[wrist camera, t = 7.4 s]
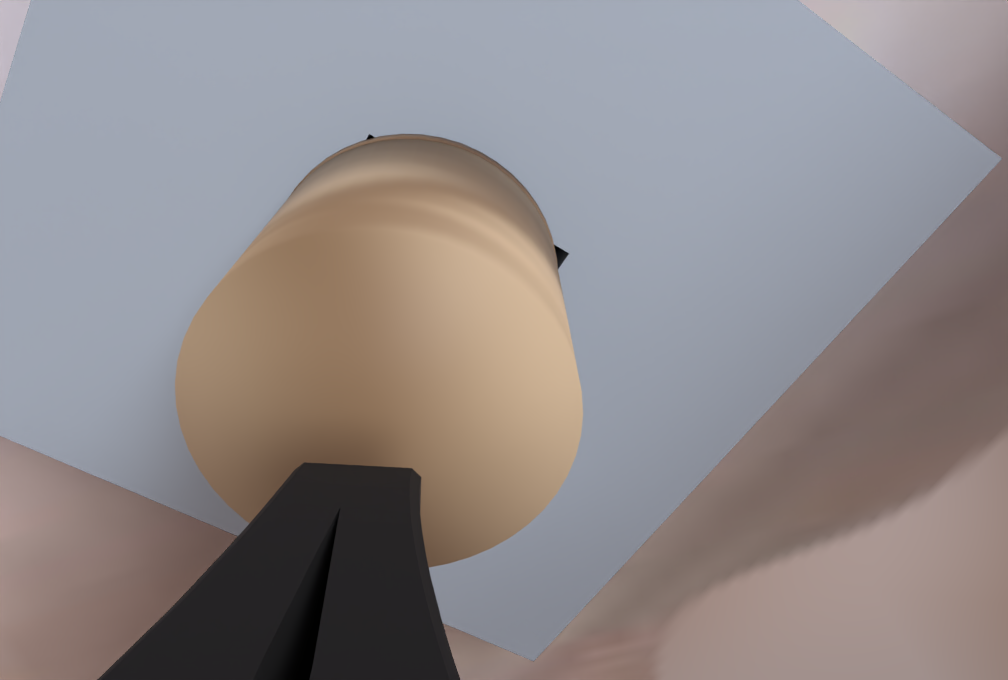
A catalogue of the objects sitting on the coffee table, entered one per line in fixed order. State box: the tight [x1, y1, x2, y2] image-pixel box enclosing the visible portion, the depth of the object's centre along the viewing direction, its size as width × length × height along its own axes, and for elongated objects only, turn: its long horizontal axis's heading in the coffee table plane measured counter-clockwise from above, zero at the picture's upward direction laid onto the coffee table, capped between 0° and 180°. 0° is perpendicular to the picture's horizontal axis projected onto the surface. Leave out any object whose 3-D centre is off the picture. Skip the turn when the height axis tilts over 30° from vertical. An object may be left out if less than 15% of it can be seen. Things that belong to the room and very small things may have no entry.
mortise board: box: [0, 0, 1002, 661], centre depth 16 cm, size 16×16×2 cm
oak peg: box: [175, 134, 583, 567], centre depth 13 cm, size 6×6×7 cm
